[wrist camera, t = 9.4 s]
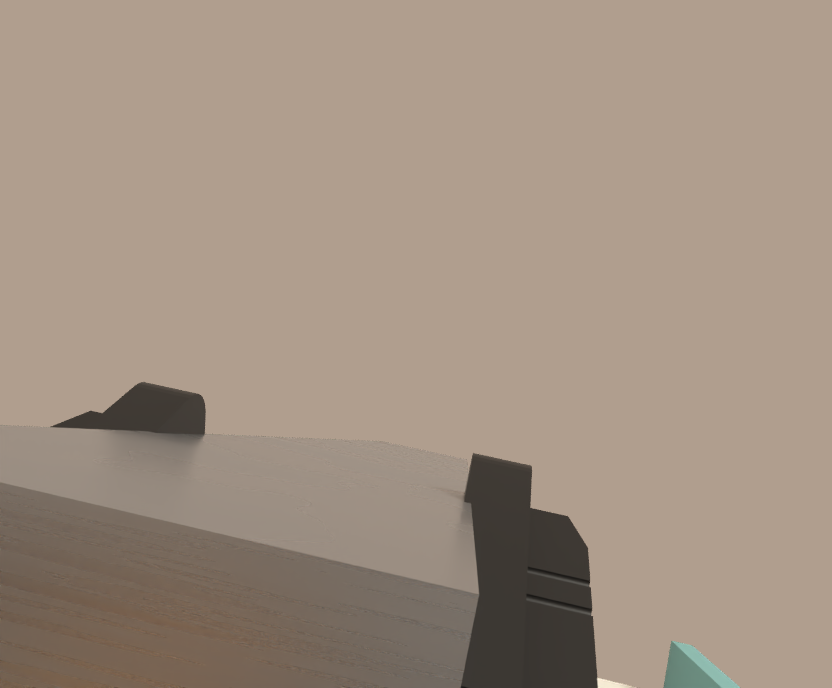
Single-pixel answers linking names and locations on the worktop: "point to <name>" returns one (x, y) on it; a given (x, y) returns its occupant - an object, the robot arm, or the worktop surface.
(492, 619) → the robot arm
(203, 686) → the grey square bar
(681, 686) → the channel ribs
